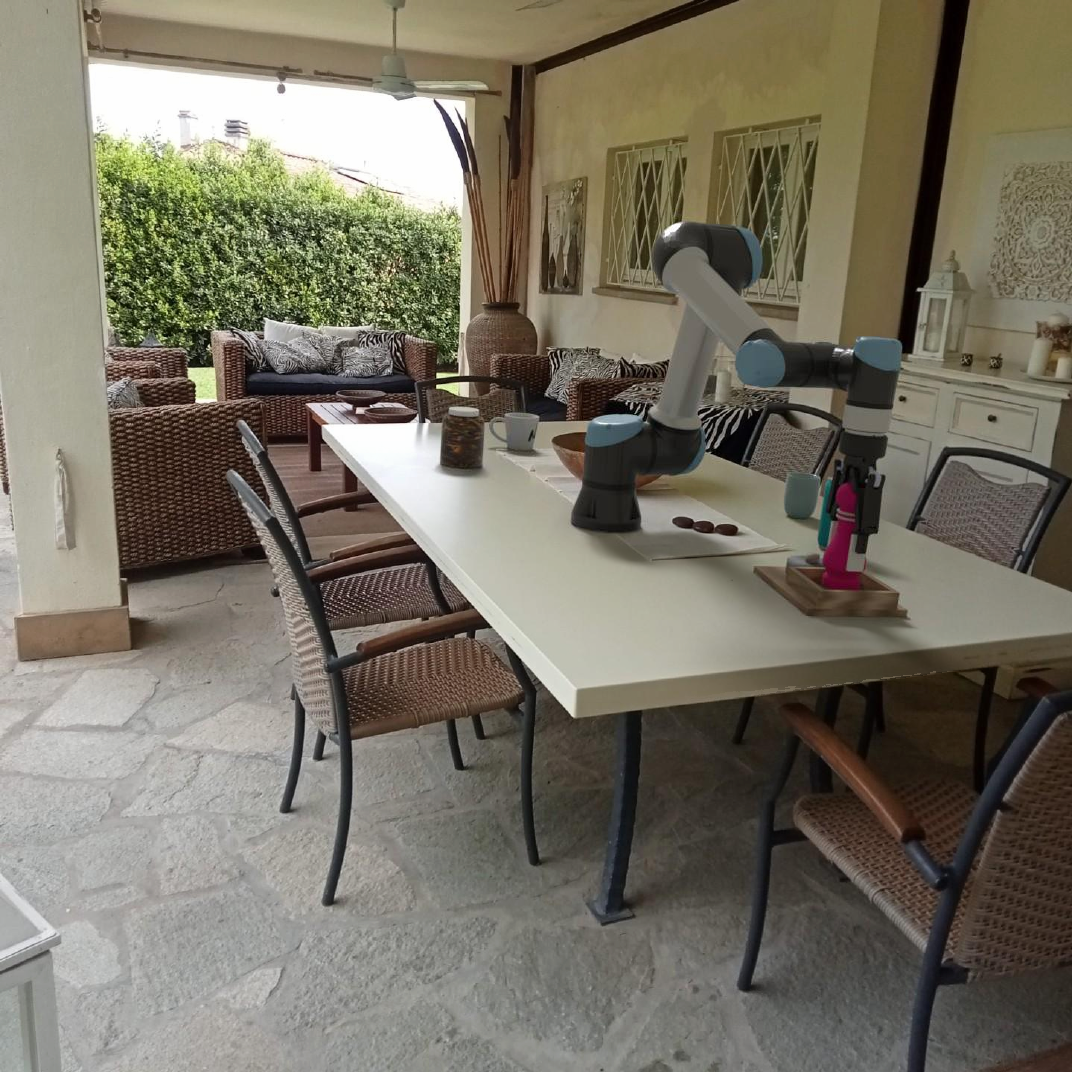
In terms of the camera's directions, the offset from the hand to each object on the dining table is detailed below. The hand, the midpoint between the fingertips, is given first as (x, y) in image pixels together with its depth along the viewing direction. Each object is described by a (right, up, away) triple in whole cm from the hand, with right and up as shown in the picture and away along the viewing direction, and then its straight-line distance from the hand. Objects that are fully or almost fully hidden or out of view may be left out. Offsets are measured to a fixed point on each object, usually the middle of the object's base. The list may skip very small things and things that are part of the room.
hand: (844, 563), depth 171 cm
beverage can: (+9, +2, +38) cm, 39 cm away
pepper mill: (0, -4, +1) cm, 4 cm away
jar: (-73, +24, +98) cm, 124 cm away
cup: (+9, +9, +65) cm, 66 cm away
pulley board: (-1, -5, +7) cm, 9 cm away
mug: (-60, +31, +128) cm, 145 cm away
